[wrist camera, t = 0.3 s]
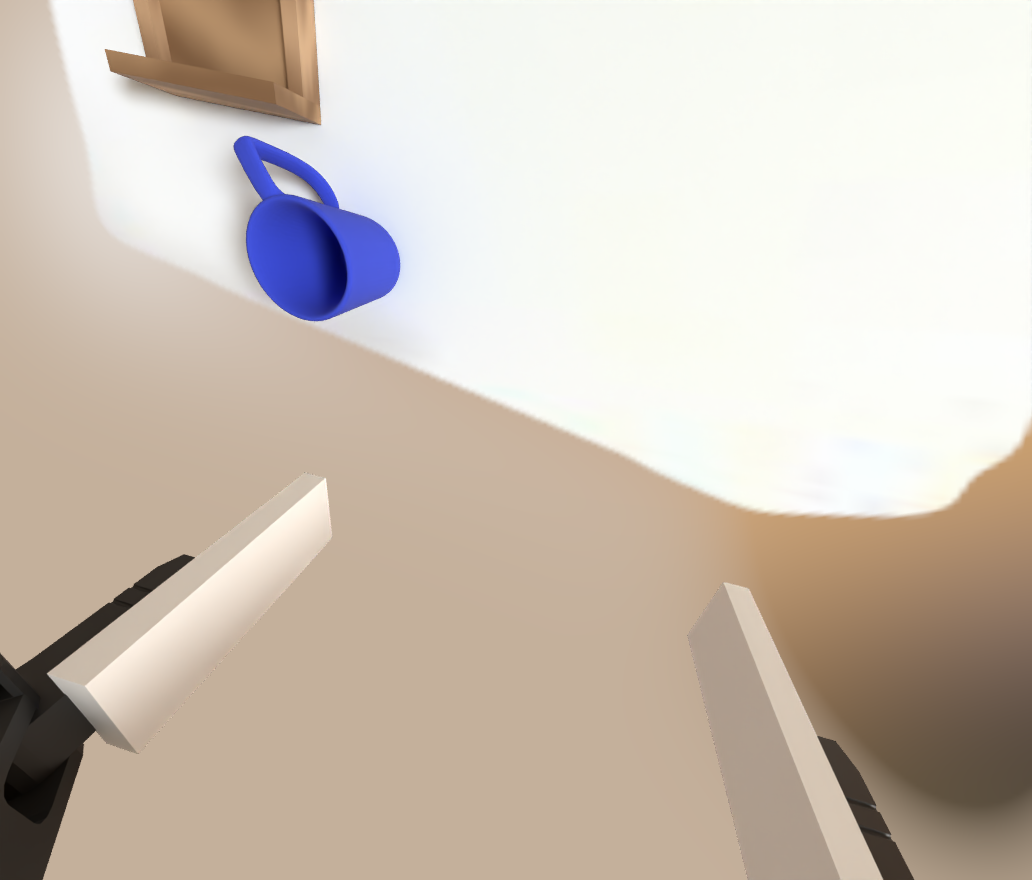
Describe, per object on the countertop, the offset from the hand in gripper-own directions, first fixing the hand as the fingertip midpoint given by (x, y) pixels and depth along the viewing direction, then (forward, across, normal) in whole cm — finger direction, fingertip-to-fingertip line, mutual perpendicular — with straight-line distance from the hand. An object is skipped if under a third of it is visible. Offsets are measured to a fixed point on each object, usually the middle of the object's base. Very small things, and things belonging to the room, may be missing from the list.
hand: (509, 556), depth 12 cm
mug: (+27, -21, +6) cm, 35 cm away
